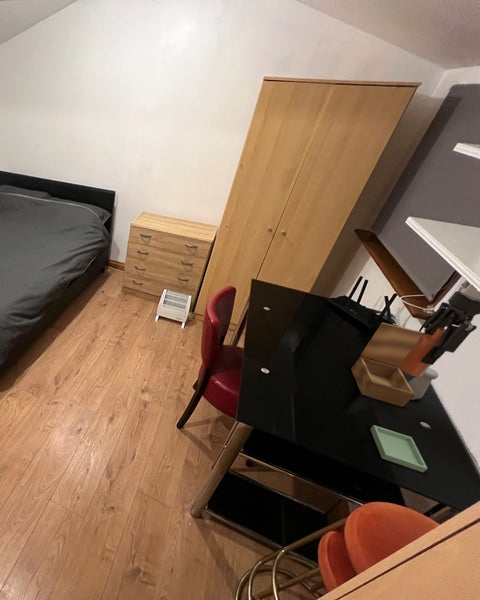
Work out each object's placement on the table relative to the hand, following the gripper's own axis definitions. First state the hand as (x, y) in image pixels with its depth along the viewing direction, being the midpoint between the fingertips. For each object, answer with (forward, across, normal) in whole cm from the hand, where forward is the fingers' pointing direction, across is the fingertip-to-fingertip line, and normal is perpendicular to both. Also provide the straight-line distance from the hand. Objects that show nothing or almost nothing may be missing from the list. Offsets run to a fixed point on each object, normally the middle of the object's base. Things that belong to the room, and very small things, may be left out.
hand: (421, 356), depth 104 cm
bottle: (+6, 0, 0) cm, 6 cm away
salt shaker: (+23, -9, +11) cm, 27 cm away
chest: (+22, -8, 0) cm, 24 cm away
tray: (+23, +21, -2) cm, 31 cm away
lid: (+7, -16, 0) cm, 17 cm away
